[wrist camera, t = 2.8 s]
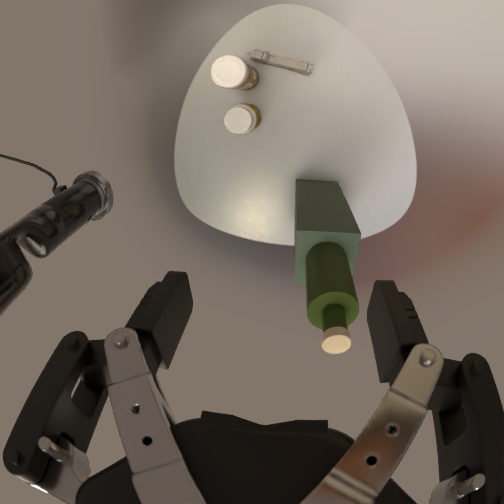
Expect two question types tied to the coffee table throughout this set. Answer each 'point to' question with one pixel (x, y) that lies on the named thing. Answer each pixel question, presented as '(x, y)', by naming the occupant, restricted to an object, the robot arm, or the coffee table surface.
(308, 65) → the grey tape dispenser
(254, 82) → the sprinkles bottle
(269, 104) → the coffee table surface
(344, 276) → the olive bottle
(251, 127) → the supplement bottle
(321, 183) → the pedestal
